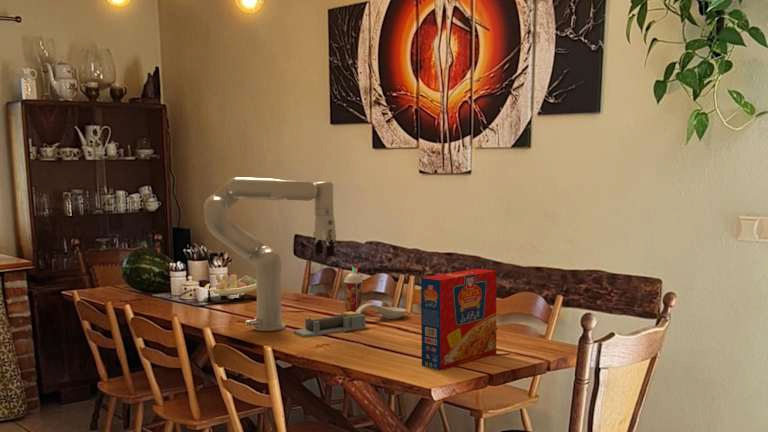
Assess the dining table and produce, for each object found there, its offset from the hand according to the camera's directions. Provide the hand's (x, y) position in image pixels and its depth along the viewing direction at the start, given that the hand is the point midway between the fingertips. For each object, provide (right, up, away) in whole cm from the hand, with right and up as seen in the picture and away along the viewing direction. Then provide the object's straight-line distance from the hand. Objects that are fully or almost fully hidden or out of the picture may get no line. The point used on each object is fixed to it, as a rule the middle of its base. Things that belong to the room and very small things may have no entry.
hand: (324, 254), depth 275 cm
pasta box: (+49, -31, -54) cm, 79 cm away
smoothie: (+10, -27, +26) cm, 39 cm away
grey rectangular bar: (+4, -28, -9) cm, 30 cm away
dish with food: (-51, -26, +62) cm, 84 cm away
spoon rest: (+23, -28, +10) cm, 37 cm away
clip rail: (+2, -29, -10) cm, 31 cm away
